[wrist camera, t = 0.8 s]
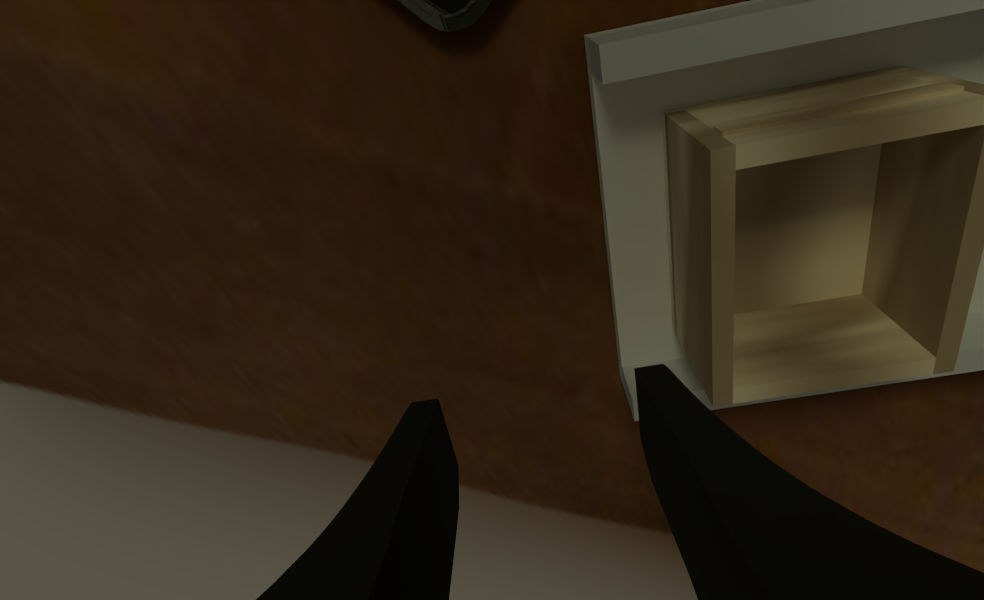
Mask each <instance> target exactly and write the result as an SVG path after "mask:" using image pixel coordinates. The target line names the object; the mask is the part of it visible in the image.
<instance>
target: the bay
mask: <svg viewBox="0 0 984 600" xmlns="http://www.w3.org/2000/svg"><path fill="white" fill-rule="evenodd" d="M584 40H585V49H586V59H587V68H588V78H589V87H590V97H591V106H592V116H593V125H594V135H595V144H596V154H597V163H598V173H599V182H600V192H601V201H602V211H603V220H604V230H605V239H606V249H607V258H608V267H609V277H610V286H611V296H612V305H613V315H614V324H615V334H616V343H617V353H618V362H619V372H620V377H621V381H622V384H623V387H624V390H625V393H626V396H627V399H628V402H629V405H630V408H631V412H632V415H633V418H634V421H639V415H638V403H637V392H636V381H635V370H634V368H639V367H645V366H652V365H658V364H664V365H665V366H667V367H668V368H669V369H670V370H671V371H672V372H673V373H674V374H675V375H676V377H677V378H678V379H679V380H680V381H681V382H682V383H683V384H684V385H685V386H686V387H687V388H688V389H689V390H690V391H691V392H692V393H693V394H694V395H695V396H696V397H697V398H698V399H699V400H700V401H701V402H702V403H703V404H704V405H705V406H706V407H707V408H708V409H710V410H715V409H722V408H729V407H736V406H742V405H749V404H756V403H763V402H770V401H776V400H783V399H790V398H797V397H804V396H811V395H817V394H824V393H831V392H838V391H845V390H851V389H858V388H865V387H872V386H879V385H885V384H892V383H899V382H906V381H913V380H919V379H926V378H933V377H940V376H947V375H954V374H960V373H967V372H974V371H981V370H984V248H983V252H982V256H981V261H980V265H979V269H978V273H977V277H976V281H975V286H974V290H973V294H972V298H971V302H970V306H969V311H968V315H967V319H966V323H965V327H964V331H963V336H962V340H961V344H960V348H959V352H958V356H957V361H956V365H955V369H954V371H953V372H946V373H939V374H932V375H925V376H919V377H912V378H905V379H898V380H892V381H885V382H878V383H871V384H864V385H858V386H851V387H844V388H837V389H830V390H824V391H817V392H810V393H803V394H796V395H790V396H783V397H776V398H769V399H763V400H756V401H749V402H742V403H735V404H729V405H722V406H715V407H713V406H712V404H711V402H710V400H709V398H708V396H707V395H706V393H705V391H704V389H703V387H702V385H701V383H700V381H699V379H698V377H697V375H696V373H695V371H694V369H693V367H692V365H691V363H690V361H689V359H688V358H687V356H686V354H685V352H684V350H683V348H682V346H681V344H680V342H679V340H678V338H677V336H676V334H675V332H674V330H673V325H672V305H671V284H670V263H669V243H668V222H667V201H666V180H665V160H664V139H663V118H662V112H664V111H669V110H674V109H679V108H684V107H689V106H694V105H700V104H705V103H710V102H715V101H720V100H725V99H731V98H736V97H741V96H746V95H751V94H756V93H762V92H767V91H772V90H777V89H782V88H787V87H793V86H798V85H803V84H808V83H813V82H818V81H824V80H829V79H834V78H839V77H844V76H849V75H855V74H860V73H865V72H870V71H875V70H880V69H886V68H891V67H896V66H904V67H909V68H913V69H917V70H922V71H926V72H931V73H935V74H940V75H944V76H949V77H953V78H958V79H962V80H966V81H971V82H975V83H980V84H984V0H750V1H746V2H741V3H736V4H731V5H726V6H722V7H717V8H712V9H707V10H702V11H697V12H693V13H688V14H683V15H678V16H673V17H669V18H664V19H659V20H654V21H649V22H645V23H640V24H635V25H630V26H625V27H621V28H616V29H611V30H606V31H601V32H597V33H592V34H587V35H584Z"/></svg>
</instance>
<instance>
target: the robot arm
mask: <svg viewBox="0 0 984 600" xmlns="http://www.w3.org/2000/svg"><path fill="white" fill-rule="evenodd" d="M634 370H635V381H636V392H637V403H638V415H639V426H640V437H641V442H642V446H643V450H644V453H645V457H646V461H647V465H648V468H649V472H650V475H651V479H652V482H653V485H654V488H655V490H656V493H657V495H658V498H659V500H660V503H661V505H662V508H663V510H664V513H665V515H666V518H667V520H668V523H669V525H670V528H671V530H672V533H673V535H674V538H675V540H676V543H677V545H678V548H679V550H680V553H681V555H682V558H683V560H684V563H685V565H686V568H687V570H688V573H689V575H690V578H691V581H692V584H693V587H694V589H695V592H696V595H697V598H698V600H984V573H982V572H980V571H978V570H975V569H973V568H971V567H968V566H966V565H964V564H961V563H959V562H957V561H954V560H952V559H949V558H947V557H945V556H942V555H940V554H938V553H935V552H933V551H931V550H928V549H926V548H924V547H921V546H919V545H917V544H915V543H913V542H911V541H909V540H907V539H905V538H902V537H900V536H898V535H896V534H894V533H892V532H890V531H888V530H886V529H884V528H882V527H880V526H878V525H876V524H874V523H872V522H870V521H868V520H867V519H865V518H863V517H861V516H859V515H857V514H856V513H854V512H852V511H850V510H849V509H847V508H845V507H843V506H841V505H840V504H838V503H836V502H834V501H833V500H831V499H829V498H827V497H826V496H824V495H822V494H820V493H819V492H817V491H816V490H814V489H812V488H811V487H809V486H808V485H806V484H805V483H803V482H801V481H800V480H798V479H797V478H795V477H794V476H793V475H791V474H790V473H788V472H787V471H785V470H784V469H782V468H781V467H779V466H778V465H777V464H775V463H774V462H773V461H771V460H770V459H768V458H767V457H766V456H764V455H763V454H762V453H760V452H759V451H758V450H757V449H755V448H754V447H753V446H752V445H750V444H749V443H748V442H747V441H745V440H744V439H743V438H742V437H740V436H739V435H738V434H737V433H736V432H734V431H733V430H732V429H731V428H730V427H729V426H727V425H726V424H725V423H724V422H723V421H722V420H721V419H720V418H718V417H717V416H716V415H715V414H714V413H713V412H712V411H711V410H710V409H708V408H707V407H706V406H705V405H704V404H703V403H702V402H701V401H700V400H699V399H698V398H697V397H696V396H695V395H694V394H693V393H692V392H691V391H690V390H689V389H688V388H687V387H686V386H685V385H684V384H683V383H682V382H681V381H680V380H679V379H678V378H677V377H676V375H675V374H674V373H673V372H672V371H671V370H670V369H669V368H668V367H667V366H665V365H664V364H658V365H652V366H645V367H639V368H634ZM458 511H459V476H458V463H457V460H456V456H455V453H454V450H453V446H452V443H451V440H450V436H449V433H448V430H447V426H446V423H445V420H444V416H443V413H442V410H441V406H440V403H439V400H438V399H433V400H426V401H420V402H413V403H411V404H410V406H409V407H408V408H407V410H406V412H405V413H404V415H403V417H402V418H401V420H400V422H399V423H398V425H397V427H396V429H395V430H394V432H393V434H392V435H391V437H390V438H389V440H388V442H387V443H386V445H385V447H384V448H383V450H382V451H381V453H380V454H379V456H378V457H377V459H376V460H375V462H374V464H373V465H372V467H371V468H370V470H369V471H368V473H367V474H366V476H365V477H364V479H363V480H362V481H361V483H360V484H359V486H358V487H357V488H356V490H355V491H354V493H353V494H352V495H351V497H350V498H349V499H348V501H347V502H346V503H345V505H344V506H343V508H342V509H341V510H340V511H339V513H338V514H337V515H336V516H335V518H334V519H333V520H332V521H331V523H330V524H329V525H328V526H327V527H326V529H325V530H324V531H323V532H322V533H321V535H320V536H319V537H318V538H317V539H316V540H315V541H314V543H313V544H312V545H311V546H310V547H309V548H308V549H307V550H306V551H305V552H304V553H303V554H302V555H301V556H300V557H299V558H298V559H297V560H296V561H295V563H293V564H292V565H291V567H289V568H288V569H287V570H286V571H285V573H284V574H283V575H282V576H281V577H280V578H279V579H278V580H277V581H276V582H275V583H274V584H273V585H271V586H270V587H269V588H268V589H267V590H266V591H265V592H264V593H263V594H262V595H261V596H260V597H258V598H257V599H256V600H449V592H450V584H451V575H452V566H453V558H454V549H455V540H456V530H457V521H458Z"/></svg>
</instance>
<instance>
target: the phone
mask: <svg viewBox="0 0 984 600" xmlns="http://www.w3.org/2000/svg"><path fill="white" fill-rule="evenodd" d="M397 1H399V2H400V3H401V4H403V5H404V6H405V7H406V8H408V9H409V10H410V11H412V12H413V13H414V14H415V15H417V16H418V17H419V18H420V19H422V20H423V21H424V22H426V23H427V24H429V25H430V26H432V27H434V28H436V29H438V30H442V31H448V32H454V31H460V30H464V29H465V28H467V27H469V26H471V25H473V24H474V23H475V22H476V21H477V20H478V19H479V18H480V17H481V15H482V14H483V13H484V12H485V10H486V8H487V7H488V5H489V4H490V2H491V1H492V0H397Z"/></svg>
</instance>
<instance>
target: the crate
mask: <svg viewBox="0 0 984 600" xmlns="http://www.w3.org/2000/svg"><path fill="white" fill-rule="evenodd" d="M662 118H663V139H664V160H665V180H666V201H667V222H668V243H669V263H670V284H671V305H672V325H673V330H674V332H675V334H676V336H677V338H678V340H679V342H680V344H681V346H682V348H683V350H684V352H685V354H686V356H687V358H688V359H689V361H690V363H691V365H692V367H693V369H694V371H695V373H696V375H697V377H698V379H699V381H700V383H701V385H702V387H703V389H704V391H705V393H706V395H707V396H708V398H709V400H710V402H711V404H712V406H713V407H715V406H722V405H729V404H735V403H742V402H749V401H756V400H763V399H769V398H776V397H783V396H790V395H796V394H803V393H810V392H817V391H824V390H830V389H837V388H844V387H851V386H858V385H864V384H871V383H878V382H885V381H892V380H898V379H905V378H912V377H919V376H925V375H932V374H939V373H946V372H953V371H954V369H955V365H956V361H957V356H958V352H959V348H960V344H961V340H962V336H963V331H964V327H965V323H966V319H967V315H968V311H969V306H970V302H971V298H972V294H973V290H974V286H975V281H976V277H977V273H978V269H979V265H980V261H981V256H982V252H983V248H984V84H980V83H975V82H971V81H966V80H962V79H958V78H953V77H949V76H944V75H940V74H935V73H931V72H926V71H922V70H917V69H913V68H909V67H904V66H896V67H891V68H886V69H880V70H875V71H870V72H865V73H860V74H855V75H849V76H844V77H839V78H834V79H829V80H824V81H818V82H813V83H808V84H803V85H798V86H793V87H787V88H782V89H777V90H772V91H767V92H762V93H756V94H751V95H746V96H741V97H736V98H731V99H725V100H720V101H715V102H710V103H705V104H700V105H694V106H689V107H684V108H679V109H674V110H669V111H664V112H662Z"/></svg>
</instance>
